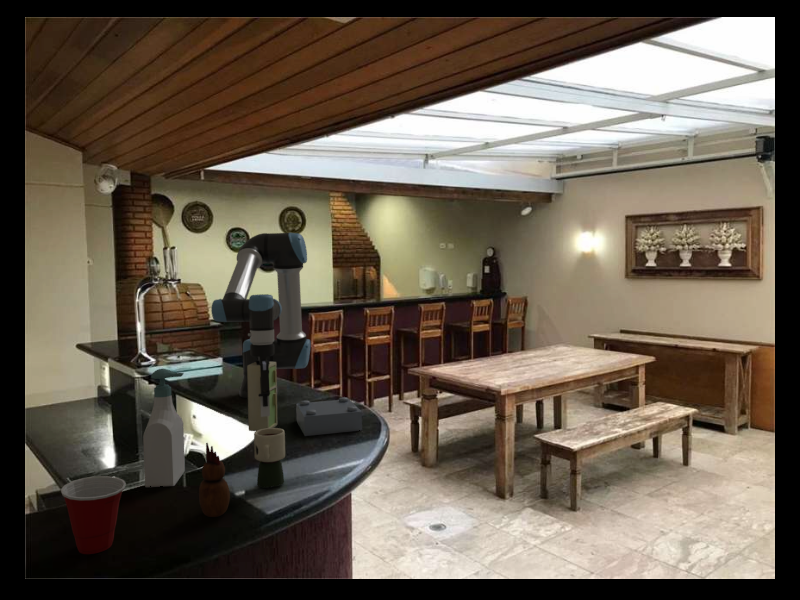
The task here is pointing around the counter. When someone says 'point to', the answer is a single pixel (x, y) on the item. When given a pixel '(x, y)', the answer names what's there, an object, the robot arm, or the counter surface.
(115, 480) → the plastic cup
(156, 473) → the white spray bottle
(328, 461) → the counter surface
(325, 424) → the base brick
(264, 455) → the character mug
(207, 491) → the wooden figurine
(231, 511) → the counter surface
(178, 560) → the counter surface
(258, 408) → the toy refrigerator
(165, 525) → the counter surface
